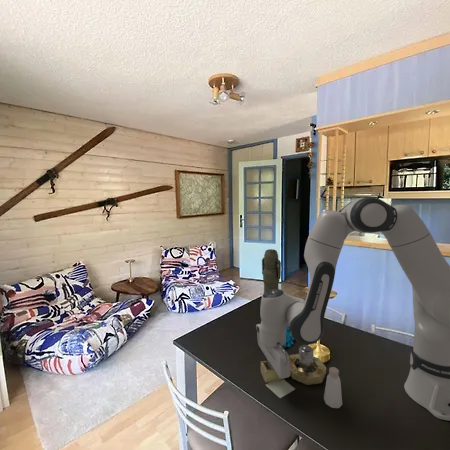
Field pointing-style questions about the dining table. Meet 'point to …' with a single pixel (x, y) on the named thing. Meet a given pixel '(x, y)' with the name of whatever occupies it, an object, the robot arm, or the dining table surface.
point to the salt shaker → (333, 389)
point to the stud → (306, 358)
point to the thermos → (271, 270)
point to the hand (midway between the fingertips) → (272, 371)
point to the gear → (288, 338)
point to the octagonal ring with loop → (296, 371)
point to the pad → (280, 388)
